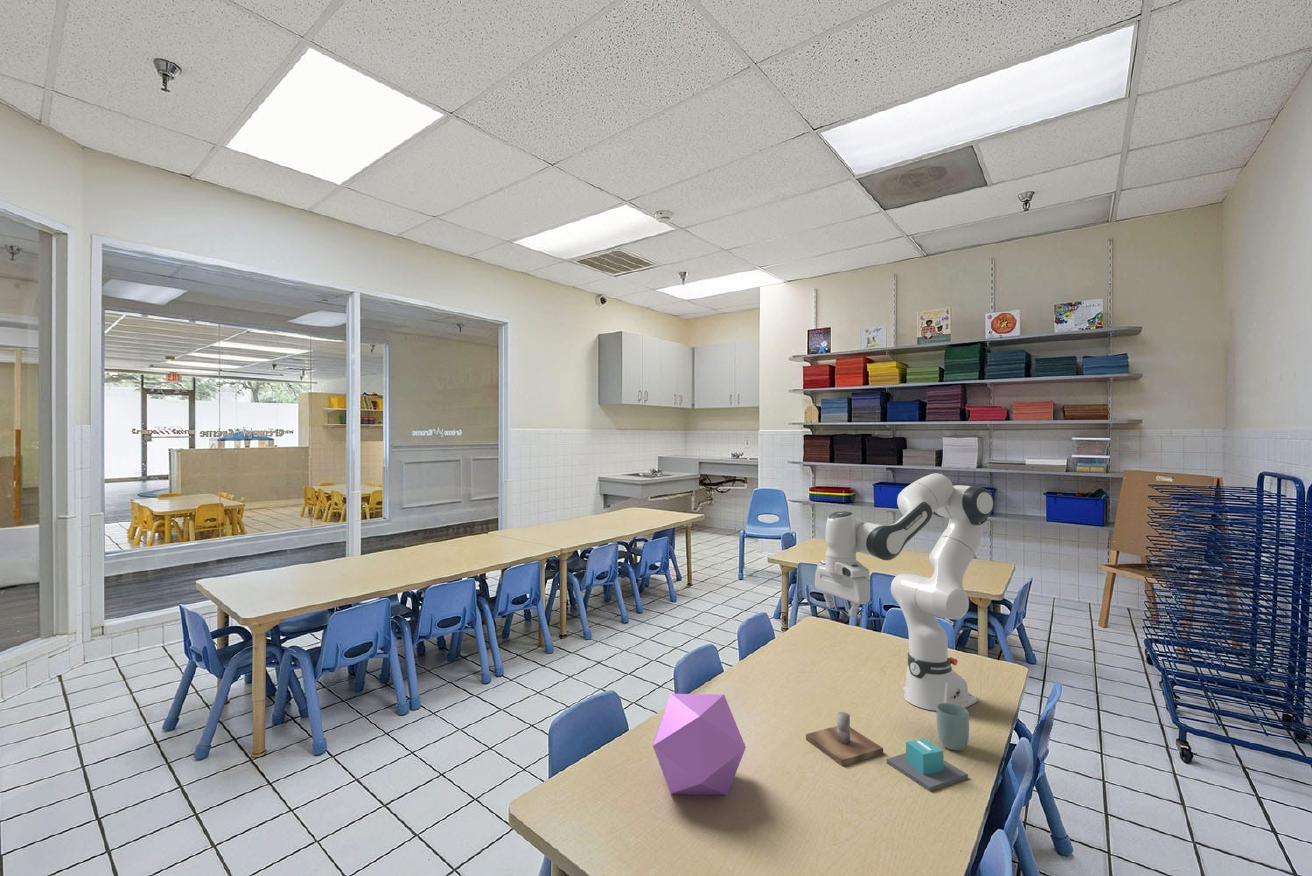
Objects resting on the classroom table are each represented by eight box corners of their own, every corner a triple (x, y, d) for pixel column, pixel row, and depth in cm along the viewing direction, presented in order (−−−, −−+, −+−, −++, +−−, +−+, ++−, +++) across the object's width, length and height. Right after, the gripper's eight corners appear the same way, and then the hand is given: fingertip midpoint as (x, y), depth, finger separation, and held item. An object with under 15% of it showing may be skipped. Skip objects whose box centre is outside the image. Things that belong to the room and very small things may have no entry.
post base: (845, 729, 159) (845, 699, 159) (883, 753, 147) (883, 721, 147) (805, 739, 154) (805, 708, 154) (841, 765, 141) (841, 732, 141)
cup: (966, 741, 152) (966, 705, 153) (972, 756, 145) (972, 718, 145) (934, 737, 155) (934, 700, 155) (939, 751, 148) (938, 713, 148)
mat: (923, 751, 148) (923, 747, 148) (967, 778, 136) (967, 774, 136) (886, 762, 142) (886, 758, 142) (930, 791, 130) (930, 787, 130)
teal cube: (906, 761, 141) (905, 740, 141) (925, 757, 143) (925, 737, 143) (923, 774, 135) (923, 753, 135) (943, 771, 137) (943, 749, 137)
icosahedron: (655, 721, 150) (654, 669, 135) (734, 722, 149) (741, 670, 135) (653, 815, 132) (651, 768, 117) (743, 817, 131) (752, 770, 117)
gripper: (809, 560, 177) (810, 603, 176) (857, 573, 158) (857, 622, 158) (825, 558, 179) (825, 601, 179) (873, 571, 161) (874, 619, 160)
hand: (840, 611), depth 168 cm, fingers open, 8 cm apart
